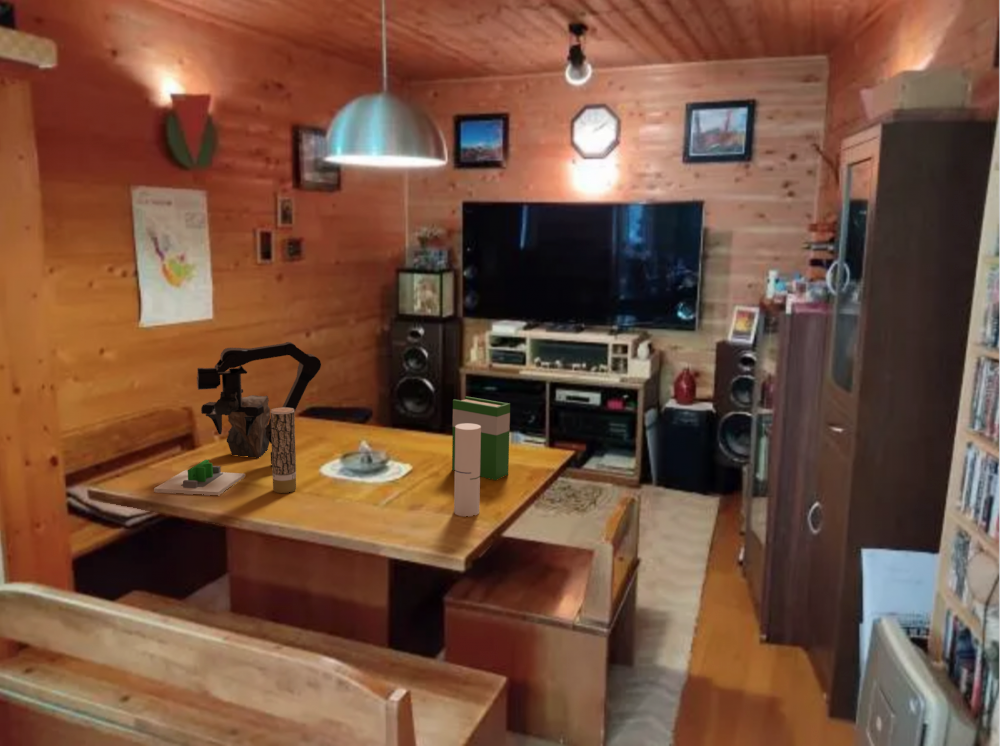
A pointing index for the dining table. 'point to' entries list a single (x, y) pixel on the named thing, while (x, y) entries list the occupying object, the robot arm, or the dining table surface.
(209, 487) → the door panel
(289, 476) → the bark textured cylinder
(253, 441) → the grey brown rock block
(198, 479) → the green angled block
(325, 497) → the dining table surface
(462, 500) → the cylindrical container
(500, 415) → the hardback book
